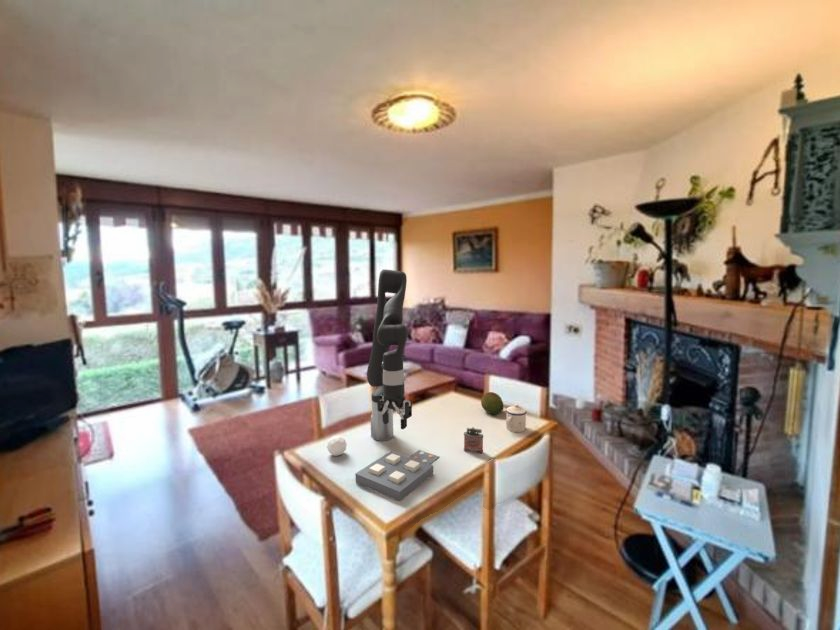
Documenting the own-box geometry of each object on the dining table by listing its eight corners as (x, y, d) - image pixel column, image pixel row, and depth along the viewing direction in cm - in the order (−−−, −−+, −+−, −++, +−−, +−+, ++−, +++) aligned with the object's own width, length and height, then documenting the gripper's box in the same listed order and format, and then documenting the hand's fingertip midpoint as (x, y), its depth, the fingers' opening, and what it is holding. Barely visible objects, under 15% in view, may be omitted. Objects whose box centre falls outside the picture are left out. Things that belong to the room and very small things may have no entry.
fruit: (491, 406, 214) (491, 388, 213) (510, 413, 204) (510, 394, 203) (476, 411, 207) (476, 393, 205) (495, 419, 197) (495, 399, 196)
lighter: (462, 451, 165) (462, 428, 163) (464, 447, 168) (465, 425, 166) (482, 454, 162) (482, 431, 160) (483, 451, 165) (484, 427, 164)
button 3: (369, 474, 143) (369, 468, 143) (376, 470, 147) (376, 463, 146) (377, 478, 141) (377, 471, 141) (385, 473, 144) (385, 466, 144)
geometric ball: (340, 462, 163) (341, 452, 157) (323, 454, 164) (323, 444, 158) (349, 446, 168) (350, 436, 163) (332, 438, 169) (333, 429, 164)
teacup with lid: (511, 422, 192) (512, 399, 191) (529, 428, 186) (530, 404, 185) (498, 431, 183) (499, 406, 182) (516, 436, 178) (517, 411, 176)
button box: (355, 482, 143) (355, 473, 142) (391, 459, 159) (390, 451, 159) (400, 501, 132) (399, 491, 131) (433, 474, 148) (433, 465, 147)
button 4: (388, 482, 138) (388, 475, 138) (396, 477, 142) (396, 470, 141) (398, 486, 136) (397, 479, 136) (405, 481, 139) (405, 474, 139)
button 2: (404, 471, 146) (404, 464, 145) (411, 466, 149) (411, 459, 148) (413, 474, 143) (413, 467, 143) (420, 469, 147) (420, 463, 146)
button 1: (385, 464, 151) (385, 457, 150) (392, 459, 154) (392, 453, 154) (394, 467, 148) (393, 460, 148) (400, 462, 152) (400, 456, 151)
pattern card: (407, 458, 159) (407, 457, 159) (418, 450, 166) (418, 449, 166) (428, 465, 154) (428, 464, 154) (439, 457, 160) (439, 456, 160)
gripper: (370, 380, 141) (372, 425, 143) (403, 387, 133) (404, 434, 135) (384, 375, 147) (385, 418, 150) (416, 381, 139) (417, 426, 141)
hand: (394, 425), depth 142 cm, fingers open, 7 cm apart
